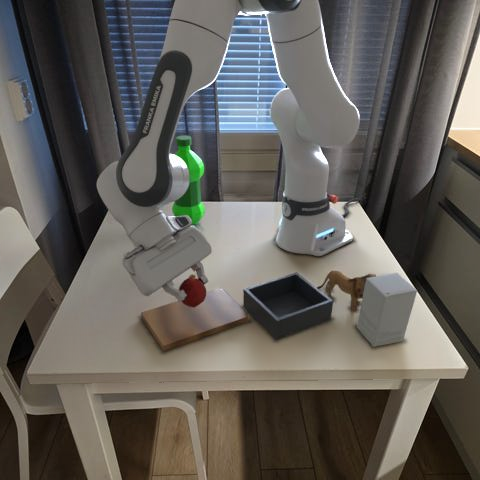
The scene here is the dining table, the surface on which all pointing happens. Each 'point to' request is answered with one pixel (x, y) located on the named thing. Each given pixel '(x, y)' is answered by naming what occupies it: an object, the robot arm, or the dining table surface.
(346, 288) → the lion figurine
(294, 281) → the tub
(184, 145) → the plastic bottle
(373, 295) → the white packaging box
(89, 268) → the dining table surface
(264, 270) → the dining table surface
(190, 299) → the red pomegranate
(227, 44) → the robot arm
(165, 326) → the cutting board
